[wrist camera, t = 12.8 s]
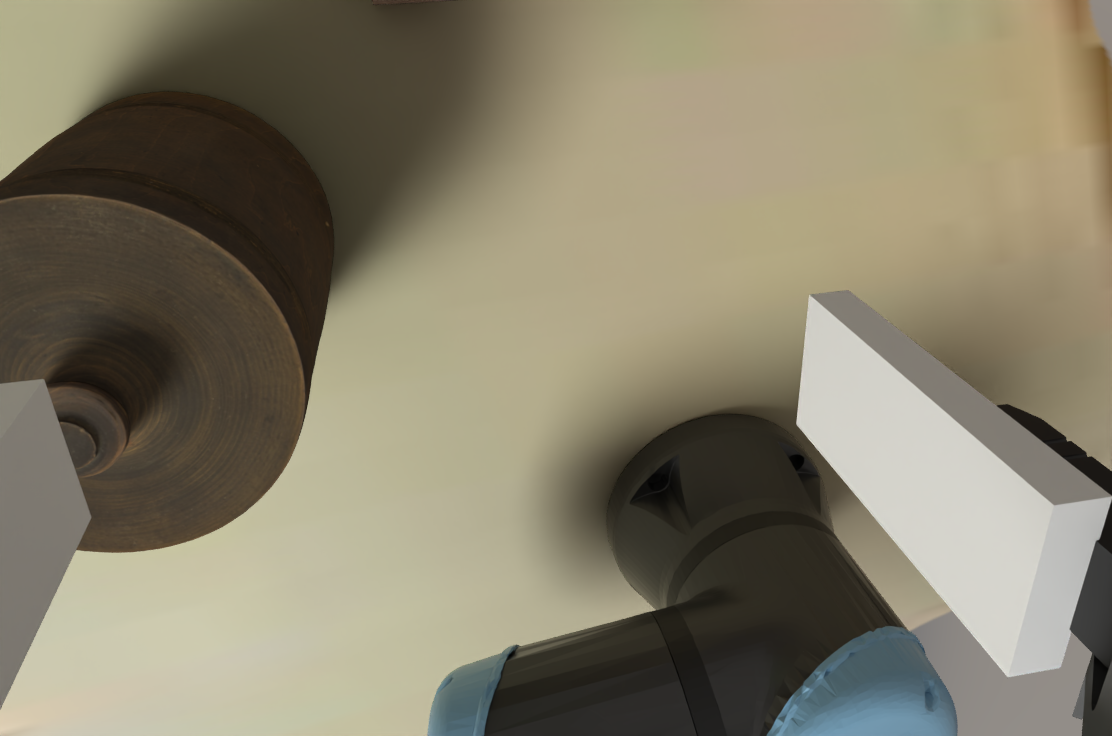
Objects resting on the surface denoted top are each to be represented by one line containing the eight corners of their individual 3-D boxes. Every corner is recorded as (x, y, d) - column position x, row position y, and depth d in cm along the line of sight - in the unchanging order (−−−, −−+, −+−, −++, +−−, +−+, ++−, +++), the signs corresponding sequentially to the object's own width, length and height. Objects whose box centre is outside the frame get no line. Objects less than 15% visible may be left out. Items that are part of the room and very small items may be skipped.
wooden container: (-14, 260, 46) (-293, 504, 27) (134, 26, 43) (-65, 113, 23) (240, 402, 52) (162, 682, 33) (388, 207, 49) (397, 395, 30)
